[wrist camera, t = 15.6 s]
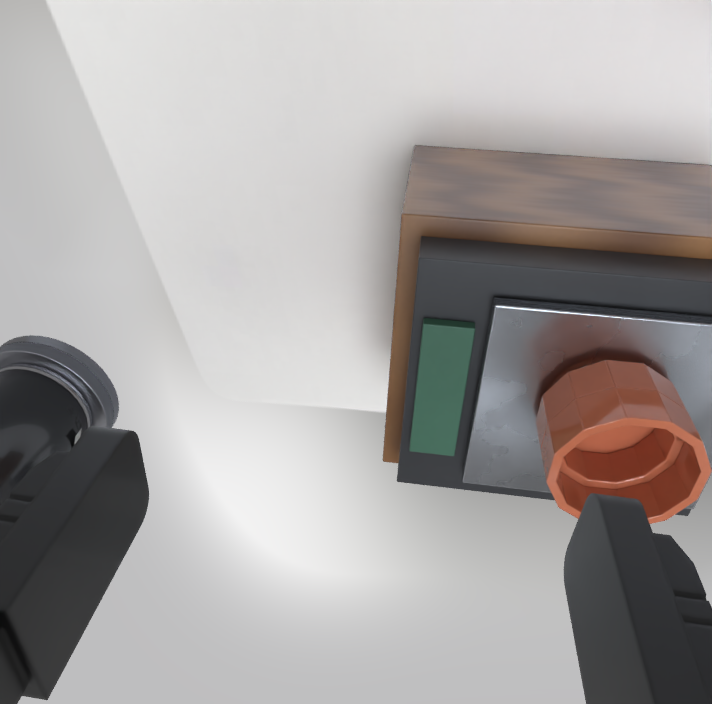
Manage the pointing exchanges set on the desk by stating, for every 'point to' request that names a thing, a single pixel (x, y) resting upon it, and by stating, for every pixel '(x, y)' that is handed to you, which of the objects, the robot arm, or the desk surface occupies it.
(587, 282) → the scale
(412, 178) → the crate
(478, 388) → the scale pan
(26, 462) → the robot arm
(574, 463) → the bowl
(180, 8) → the desk surface
